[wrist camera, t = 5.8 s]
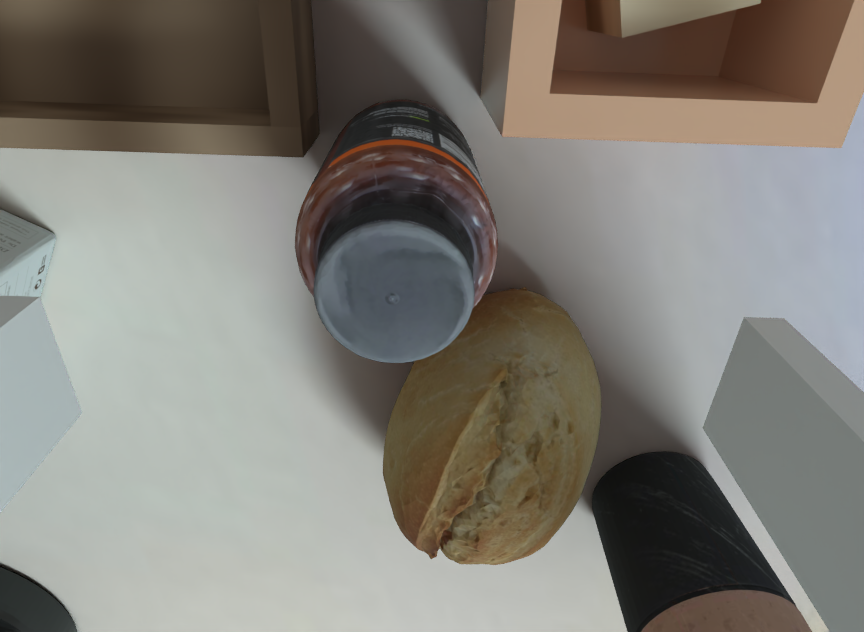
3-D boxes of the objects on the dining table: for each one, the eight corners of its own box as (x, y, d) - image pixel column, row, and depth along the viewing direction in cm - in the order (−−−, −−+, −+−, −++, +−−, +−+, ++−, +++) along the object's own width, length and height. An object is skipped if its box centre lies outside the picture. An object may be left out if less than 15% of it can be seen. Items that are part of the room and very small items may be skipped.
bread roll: (374, 488, 33) (362, 620, 26) (407, 258, 25) (402, 358, 18) (532, 503, 34) (561, 635, 27) (609, 286, 26) (676, 390, 19)
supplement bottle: (366, 255, 25) (332, 422, 15) (306, 128, 22) (217, 233, 13) (492, 210, 24) (540, 357, 14) (446, 72, 21) (467, 137, 12)
